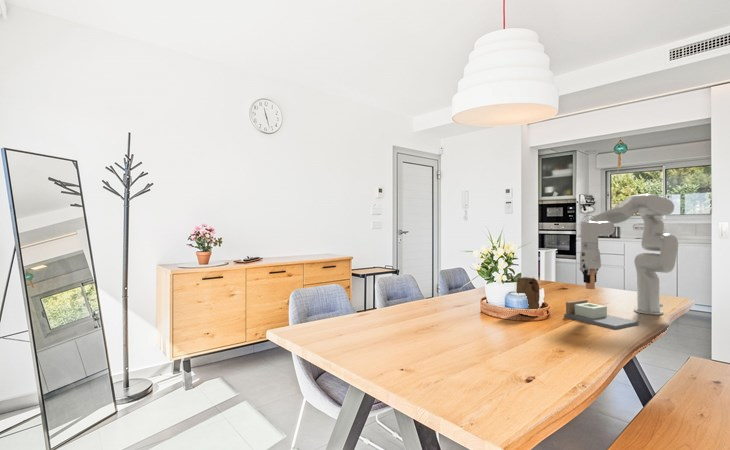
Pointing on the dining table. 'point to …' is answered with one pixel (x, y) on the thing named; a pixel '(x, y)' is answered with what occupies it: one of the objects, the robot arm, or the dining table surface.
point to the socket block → (590, 310)
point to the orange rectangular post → (591, 280)
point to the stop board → (603, 321)
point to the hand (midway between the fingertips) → (589, 281)
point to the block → (529, 290)
